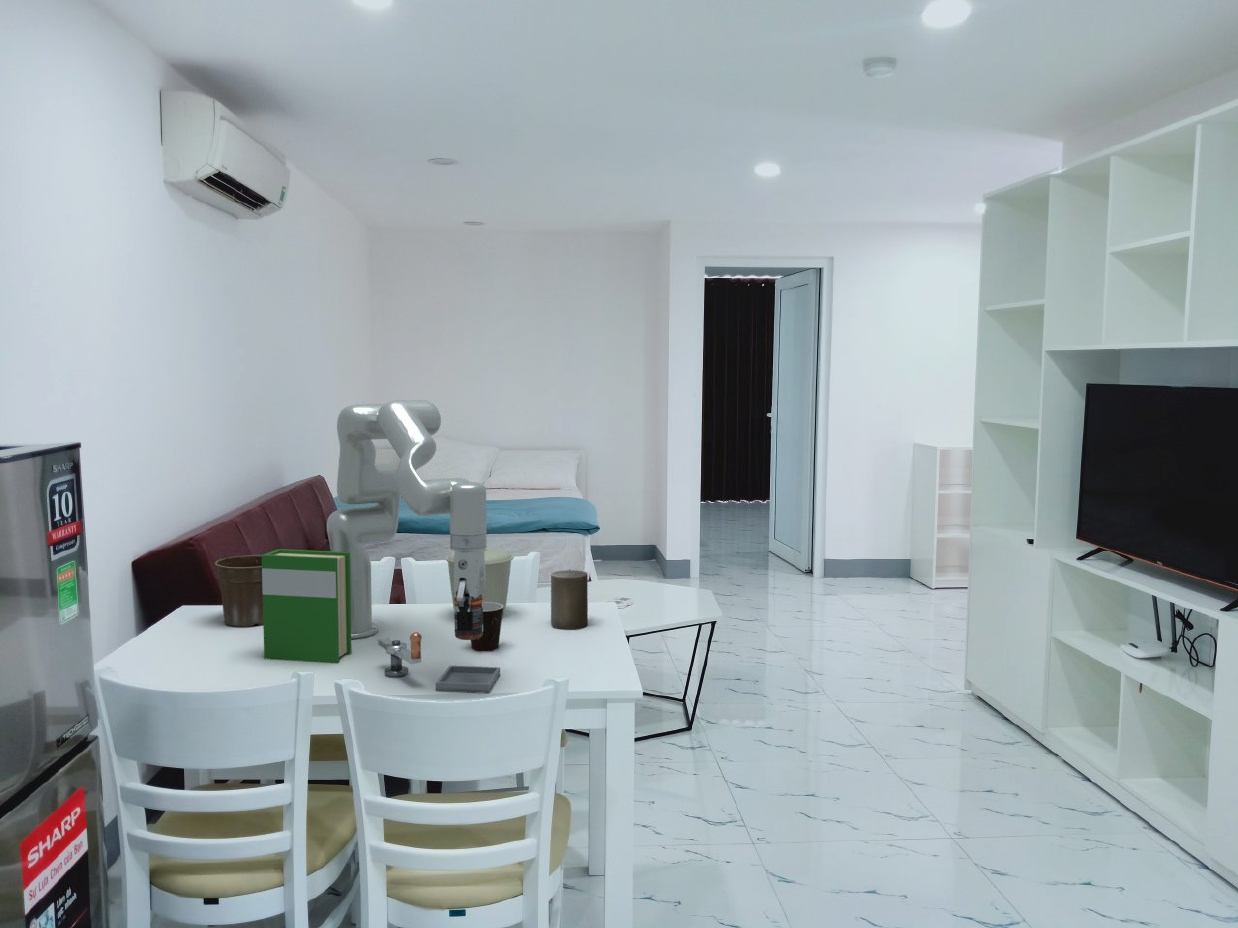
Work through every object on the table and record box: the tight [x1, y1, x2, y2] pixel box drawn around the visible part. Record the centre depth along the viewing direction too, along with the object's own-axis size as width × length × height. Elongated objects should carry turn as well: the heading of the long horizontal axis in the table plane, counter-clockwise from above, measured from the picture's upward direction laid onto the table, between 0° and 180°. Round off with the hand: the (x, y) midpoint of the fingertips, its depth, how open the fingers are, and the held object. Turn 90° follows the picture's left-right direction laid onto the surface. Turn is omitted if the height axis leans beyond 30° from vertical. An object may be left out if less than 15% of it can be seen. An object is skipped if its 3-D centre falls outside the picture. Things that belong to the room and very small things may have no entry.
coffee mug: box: [470, 602, 504, 653], centre depth 221 cm, size 12×9×10 cm
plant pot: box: [214, 554, 263, 628], centre depth 242 cm, size 16×16×16 cm
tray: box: [435, 665, 501, 694], centre depth 197 cm, size 11×11×2 cm
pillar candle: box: [550, 568, 589, 630], centre depth 243 cm, size 10×10×15 cm
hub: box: [384, 654, 409, 679], centre depth 202 cm, size 5×5×5 cm
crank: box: [377, 631, 423, 665], centre depth 200 cm, size 18×4×7 cm, turn 37°
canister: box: [444, 546, 515, 615], centre depth 250 cm, size 18×18×21 cm
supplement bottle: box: [453, 594, 483, 641], centre depth 196 cm, size 6×6×11 cm
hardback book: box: [261, 548, 353, 664], centre depth 213 cm, size 18×7×24 cm, turn 81°
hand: (468, 625), depth 196 cm, fingers closed on supplement bottle, 6 cm apart
